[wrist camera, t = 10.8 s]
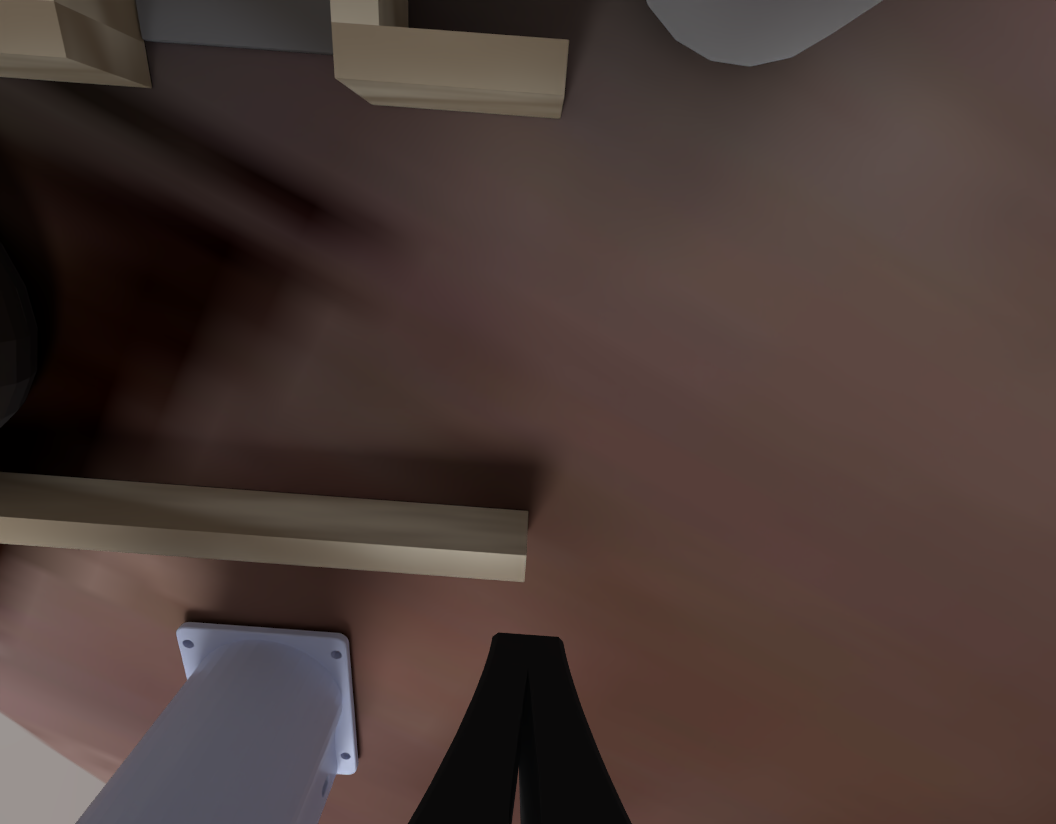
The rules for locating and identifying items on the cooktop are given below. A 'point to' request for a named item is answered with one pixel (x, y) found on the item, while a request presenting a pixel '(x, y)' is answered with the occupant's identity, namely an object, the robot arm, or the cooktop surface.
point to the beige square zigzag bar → (381, 79)
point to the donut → (15, 339)
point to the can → (754, 26)
